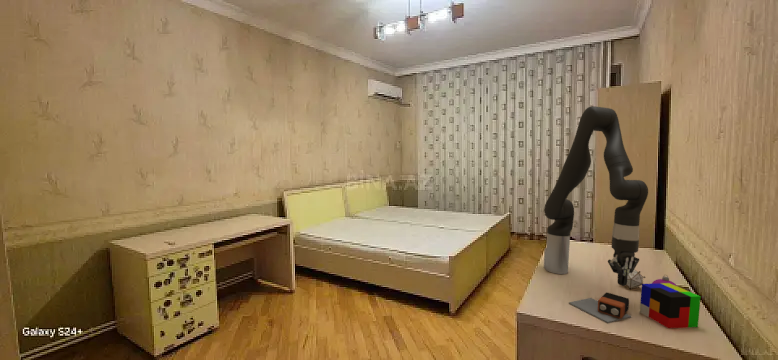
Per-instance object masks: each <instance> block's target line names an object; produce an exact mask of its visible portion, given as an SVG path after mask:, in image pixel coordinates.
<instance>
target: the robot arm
mask: <svg viewBox="0 0 778 360" xmlns="http://www.w3.org/2000/svg"><path fill="white" fill-rule="evenodd" d="M594 131H595V132H602V134H603V135H604V138H605V140H606V144H605V148H604V150H603V161H604V164H605V167H606V169H607V171H608V176H609V177H608V178H609V192H610V194H611V196H612V198H614V199H616V200H618V201H626V204H624V205H621V206H618V207H616V208H615V210H614V219H613V225H612V235H611V248H612V249H613V251H614V252H613V255H612V259H608V260H607V264H608V265H609V266H610V267H609V268H611V270H612V272H613V273H615V274H617V281H616V282H617V284H618V285H620V286H622V287H624V286H627V276H628V275H629V273H632V272H633V271H634V270H636V267H637V265H638V264H639V262H640V258H639V257H636V254H635V253H638V252H639V248H640V247H639V244H640V220H641V213H642V210H643V209H644V205H645V203H646V201H647V199H648V195H649V187H648V185H647V184H646V183H645V181H643V180H641V179H625V178H626V177H628V176H630V175H631V174H633V171H634V168H633V166H632V163H631V160H630V158H629V156H628V153H627V151H626V149H625V146H624V141H623V136H622V131H621V126H620V121H619V116H618V114H617V113H616V110H614V109H613V108H610V107H603V106H602V107H601V106H588V107H586V109H585V110H583V112H582V114H581V116H580V119H579V122H578V126H577V128H576V131H575V135H574V139H573V141H572V145H571V147H570V150H569V152H568V155H567V156H566V158H565V161H564V164H563V166H562V167H561V171H560V174H559V177H558V178H557V181H556V183H555V186H554V187H553V189H552V191H551V193H550V195H549V196H548V198H547V200H546V201H545V204H544V208H543V213H544V216H545V217H546V218H547V219H549V220H552V221H554V222H553V223H552V224H550V225H548V226H547V231H546V246H545V248H544V253H543V268H544V269H545V271H546V272H549V273H552V274H557V275H564V274H565V275H567V274H568V273H569V264H570V263H569V260H570V240H571V233H572V230H573V226H574V220H575V219H574V218H575V207H574V204H573V202H572V201H571V200H570V199H567V198H568V196H569V195H570V194H571V192H572V191H573V190H574V189H575V188H577V186H579V185H580V184H581V183H582V181H584V179H585V177H586V176H587V174H588V172H589V169H590V168H591V165H592V157H591V152H590V145H589V144H590V140H591V137H592V134H593V132H594Z"/></svg>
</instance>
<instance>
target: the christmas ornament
mask: <svg viewBox="0 0 778 360" xmlns="http://www.w3.org/2000/svg"><path fill="white" fill-rule="evenodd" d="M656 283H670V284H672V285H675V286H677V287H679V286H678V285H677V284H676V283H675V282H674V281H671V280H670V277H669V276H668V275H663V276H662V278H657V279H655V280H653V281H652V282H651V284H656Z"/></svg>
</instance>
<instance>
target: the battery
mask: <svg viewBox="0 0 778 360" xmlns="http://www.w3.org/2000/svg"><path fill="white" fill-rule="evenodd" d="M597 301H598V311H599V312H601V313H604V314H607V315H610V316H613V317H616V318H619V319H622V317H623V316H624V315H625V314H627V312H628V311H629V308H630V307H629V306H630V305H629V304H630V299H629V298H628V297H624V296H622V295H618V294H615V293H611V292H605V293H604V294H603V295H601V297H600V298H599V299H597Z"/></svg>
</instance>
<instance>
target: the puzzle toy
mask: <svg viewBox="0 0 778 360" xmlns="http://www.w3.org/2000/svg"><path fill="white" fill-rule="evenodd" d="M677 286H678V285H677ZM677 286H675V285H672V284H670V283H656V284H652V283H643V284H642V285H641V291H640V302H639V303H640V304H639V313H640V314H641V315H644V316H645V317H646V318H647V317H648V318H649V319H650V320H653V321H654V322H656V323H659V324H660V325H661V326H664V327H665V328H666V329H684V328H685V329H686V328H688V329H689V328H699V327H698V326H699V317H700V307H701V297H702V296H700V295H698V294H696V293H693V292H691V291H689V290H686V289H684V288H681V287H680V286H678V287H677Z"/></svg>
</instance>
